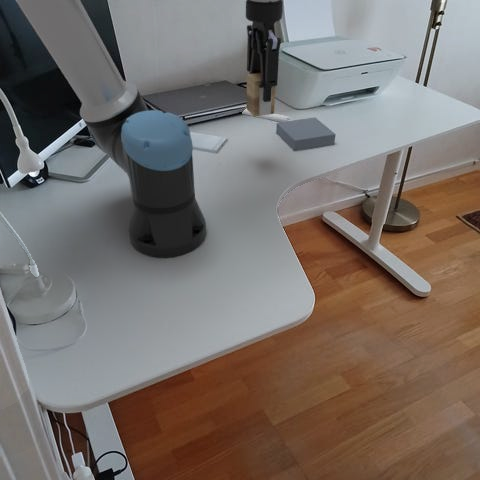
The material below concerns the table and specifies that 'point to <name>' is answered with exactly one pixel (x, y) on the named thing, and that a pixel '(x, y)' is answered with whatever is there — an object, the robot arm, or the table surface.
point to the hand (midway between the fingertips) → (260, 109)
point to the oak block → (256, 94)
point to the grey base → (305, 134)
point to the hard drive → (207, 142)
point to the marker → (270, 116)
